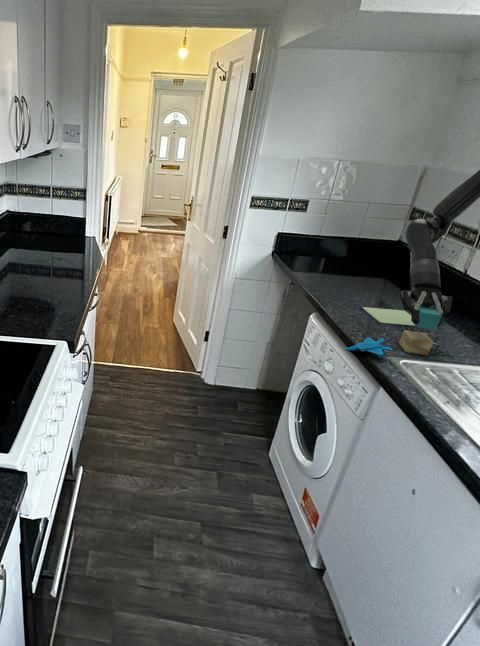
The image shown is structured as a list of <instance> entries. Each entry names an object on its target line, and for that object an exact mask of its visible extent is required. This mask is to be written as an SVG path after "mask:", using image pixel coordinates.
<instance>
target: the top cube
mask: <svg viewBox="0 0 480 646" xmlns="http://www.w3.org/2000/svg"><path fill="white" fill-rule="evenodd" d="M418 311H419V319H420V321H419V323H417V324H415V325H416V326H417V327H416V326H415V327H416V328H419V329H427V330H434V331H436V330H437V328H438V327H437V326H438V323H439V321H440V319H441V316H442V317H443V315H441V314H440V313H439V312H437V311H436V310H435V309H430V308H429V307H423V306H422V307H421V306H420V307H419V310H418ZM411 321H412V320H411Z"/></svg>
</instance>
